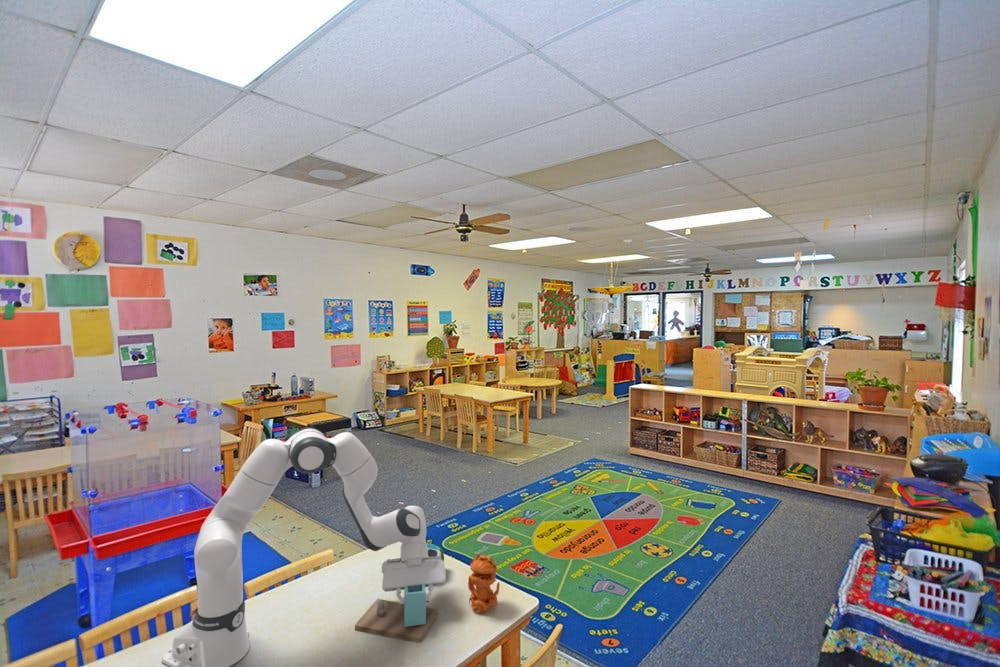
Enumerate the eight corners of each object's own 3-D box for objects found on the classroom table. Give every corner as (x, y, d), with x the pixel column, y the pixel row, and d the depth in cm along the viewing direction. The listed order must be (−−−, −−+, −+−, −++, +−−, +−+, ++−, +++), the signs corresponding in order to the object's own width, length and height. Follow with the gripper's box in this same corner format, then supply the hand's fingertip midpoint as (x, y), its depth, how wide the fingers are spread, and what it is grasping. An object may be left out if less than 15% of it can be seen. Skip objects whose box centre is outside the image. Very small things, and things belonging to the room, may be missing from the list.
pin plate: (354, 629, 143) (354, 612, 143) (377, 603, 156) (377, 587, 156) (420, 642, 137) (420, 624, 137) (438, 613, 151) (438, 597, 151)
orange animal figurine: (460, 613, 151) (460, 559, 151) (474, 594, 162) (474, 544, 161) (491, 621, 147) (492, 566, 147) (504, 602, 157) (504, 550, 157)
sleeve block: (404, 626, 141) (404, 594, 141) (404, 613, 148) (404, 583, 147) (425, 624, 143) (425, 592, 143) (424, 611, 149) (424, 580, 149)
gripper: (381, 556, 149) (380, 604, 140) (445, 550, 154) (448, 596, 144) (382, 563, 154) (381, 610, 144) (443, 556, 158) (446, 602, 149)
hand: (415, 603), depth 144 cm, fingers closed on sleeve block, 6 cm apart
